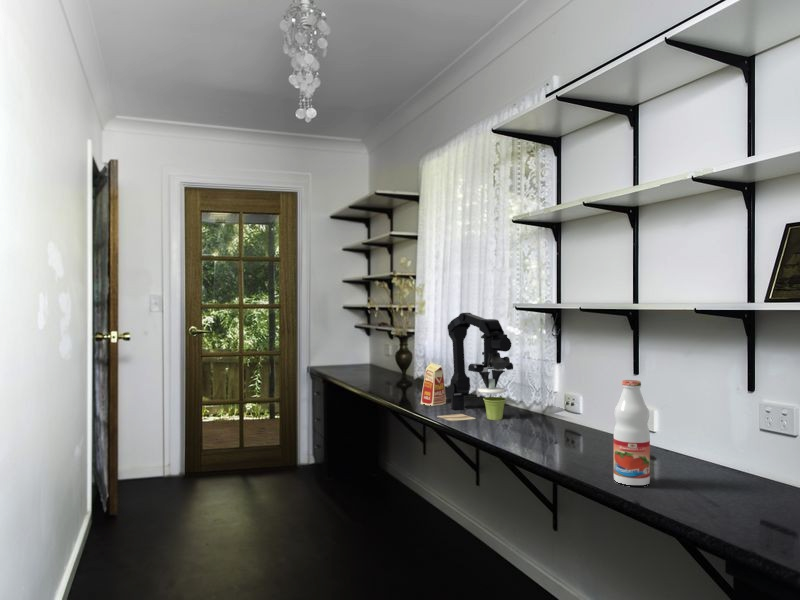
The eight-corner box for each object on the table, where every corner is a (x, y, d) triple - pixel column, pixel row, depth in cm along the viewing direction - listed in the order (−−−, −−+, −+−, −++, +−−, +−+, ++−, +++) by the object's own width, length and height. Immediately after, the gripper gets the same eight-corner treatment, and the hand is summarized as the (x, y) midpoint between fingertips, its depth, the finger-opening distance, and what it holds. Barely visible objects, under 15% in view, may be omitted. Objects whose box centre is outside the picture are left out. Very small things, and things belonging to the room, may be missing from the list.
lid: (472, 390, 264) (472, 378, 264) (494, 389, 268) (494, 376, 268) (487, 394, 254) (487, 381, 254) (510, 392, 258) (509, 379, 258)
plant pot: (507, 422, 257) (507, 400, 256) (484, 422, 257) (484, 400, 257) (504, 417, 266) (504, 396, 266) (482, 417, 266) (481, 396, 266)
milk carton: (420, 404, 299) (420, 361, 299) (434, 401, 306) (433, 360, 305) (434, 406, 293) (434, 363, 292) (448, 404, 299) (447, 361, 299)
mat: (436, 417, 266) (436, 416, 266) (461, 414, 272) (461, 413, 272) (451, 422, 256) (451, 421, 256) (476, 419, 261) (476, 418, 261)
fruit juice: (650, 479, 177) (650, 379, 176) (649, 489, 168) (649, 384, 168) (614, 476, 180) (614, 378, 180) (612, 485, 172) (612, 382, 172)
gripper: (482, 352, 250) (482, 391, 250) (521, 350, 258) (521, 388, 258) (467, 350, 260) (467, 388, 260) (505, 348, 268) (505, 385, 268)
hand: (491, 387), depth 261 cm, fingers closed on lid, 3 cm apart
